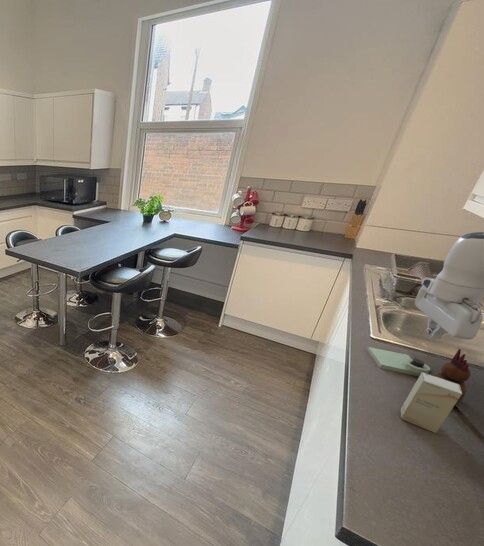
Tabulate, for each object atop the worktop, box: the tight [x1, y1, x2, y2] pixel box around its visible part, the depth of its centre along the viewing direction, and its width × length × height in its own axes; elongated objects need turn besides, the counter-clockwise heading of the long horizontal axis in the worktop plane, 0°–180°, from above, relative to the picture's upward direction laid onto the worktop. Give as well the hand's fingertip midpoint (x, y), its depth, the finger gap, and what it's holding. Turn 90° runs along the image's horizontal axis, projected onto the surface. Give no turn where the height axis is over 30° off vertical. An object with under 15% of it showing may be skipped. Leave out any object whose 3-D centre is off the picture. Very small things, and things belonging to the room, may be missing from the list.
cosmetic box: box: [400, 372, 462, 434], centre depth 74 cm, size 6×4×12 cm
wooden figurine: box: [432, 348, 471, 404], centre depth 80 cm, size 7×6×15 cm
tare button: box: [411, 358, 426, 368], centre depth 92 cm, size 2×2×2 cm
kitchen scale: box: [367, 346, 431, 377], centre depth 96 cm, size 11×11×3 cm
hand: (432, 335), depth 88 cm, fingers closed
